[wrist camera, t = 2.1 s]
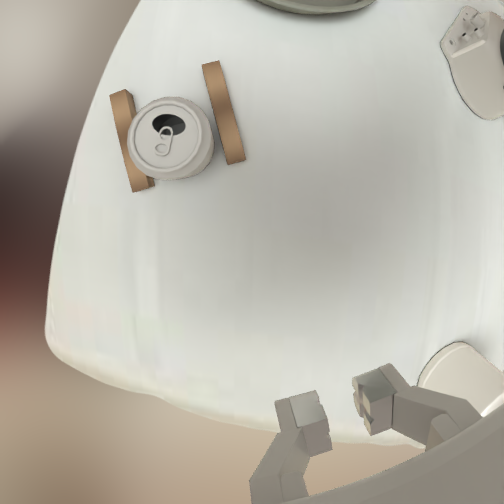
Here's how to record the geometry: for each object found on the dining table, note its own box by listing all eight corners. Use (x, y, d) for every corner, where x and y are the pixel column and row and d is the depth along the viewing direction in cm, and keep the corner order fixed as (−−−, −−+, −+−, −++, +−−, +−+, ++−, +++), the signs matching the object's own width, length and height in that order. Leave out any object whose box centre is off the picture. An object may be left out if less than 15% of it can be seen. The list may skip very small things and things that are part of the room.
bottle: (423, 411, 50) (492, 506, 23) (407, 374, 47) (496, 485, 20) (474, 369, 49) (554, 446, 22) (466, 326, 46) (570, 408, 19)
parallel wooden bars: (244, 160, 36) (245, 159, 33) (139, 191, 36) (132, 192, 33) (219, 68, 33) (219, 60, 30) (117, 100, 33) (109, 95, 30)
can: (221, 123, 35) (220, 100, 23) (206, 184, 36) (198, 189, 25) (160, 111, 34) (133, 86, 22) (146, 171, 35) (112, 172, 24)
